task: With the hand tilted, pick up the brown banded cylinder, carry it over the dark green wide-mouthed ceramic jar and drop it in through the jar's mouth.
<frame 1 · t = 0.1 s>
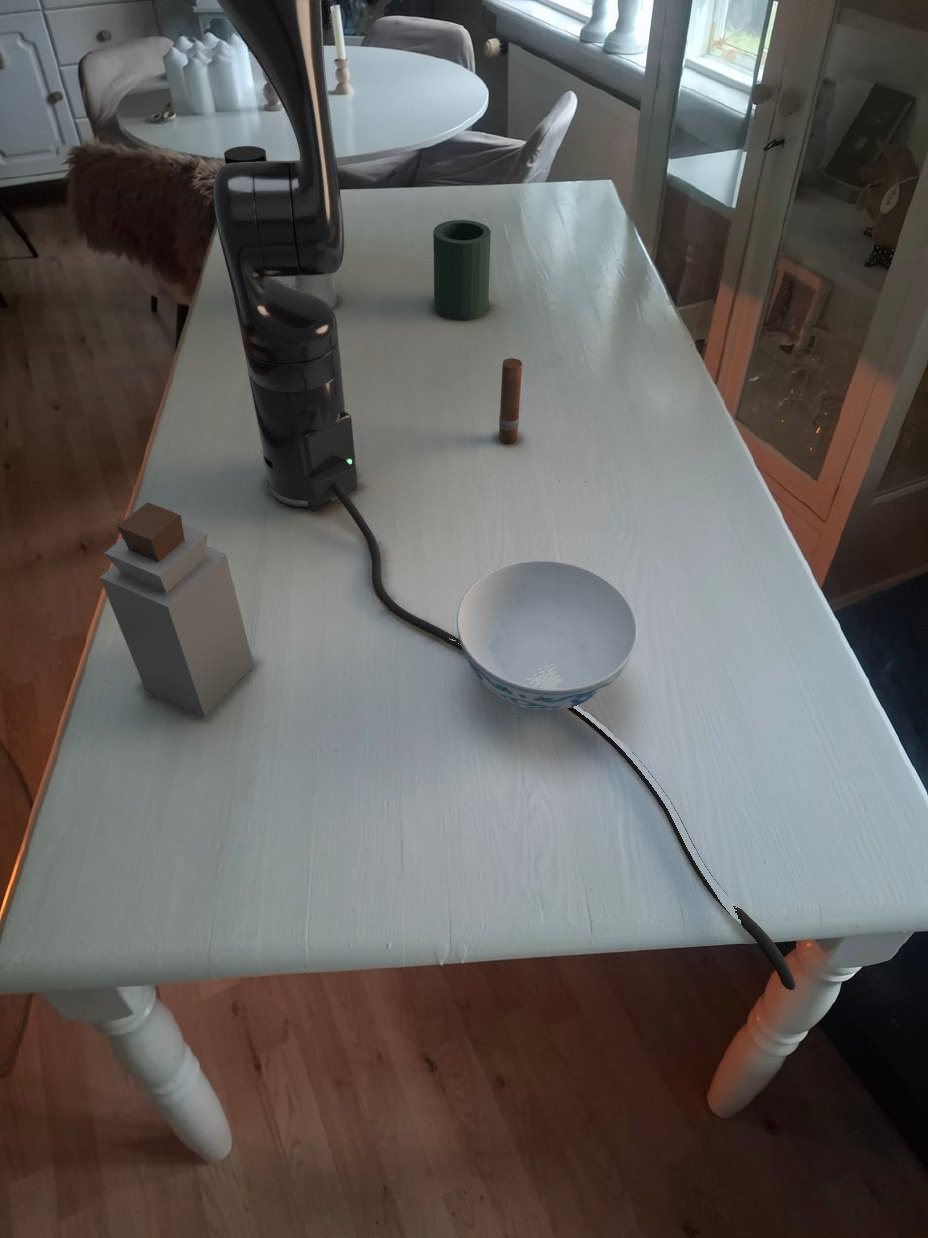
hand: (289, 25, 113), 31 cm above the table, tool tilted 20°, fingers open, 8 cm apart
supplement container: (255, 219, 147), on the table
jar: (461, 307, 126), on the table
beer glass: (316, 303, 127), on the table
brown banded cylinder: (507, 438, 103), on the table
chinaware: (539, 681, 77), on the table
perfume bottle: (200, 678, 77), on the table
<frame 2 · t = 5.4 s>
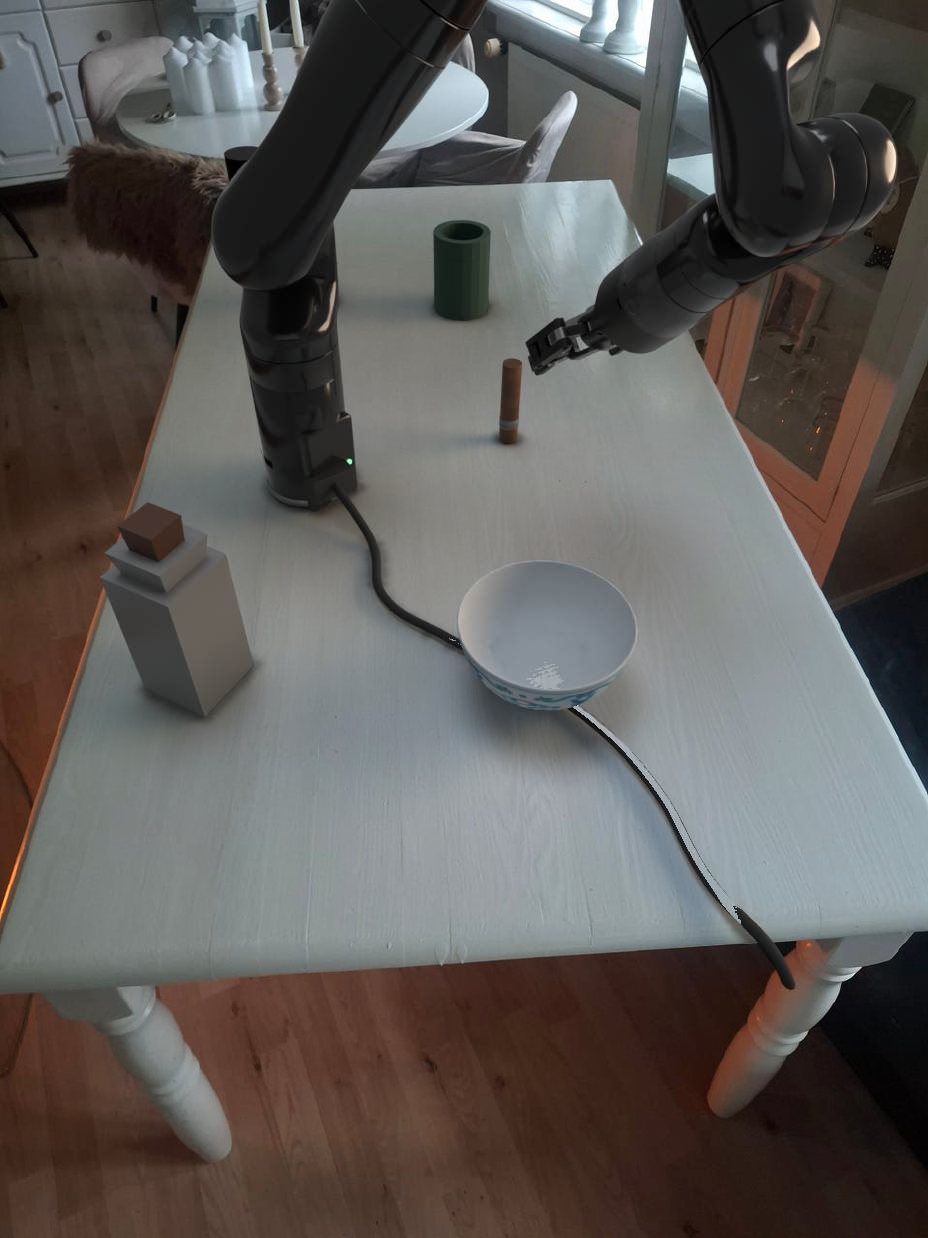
hand: (572, 355, 84), 17 cm above the table, tool tilted 45°, fingers open, 8 cm apart
nothing on the table moved.
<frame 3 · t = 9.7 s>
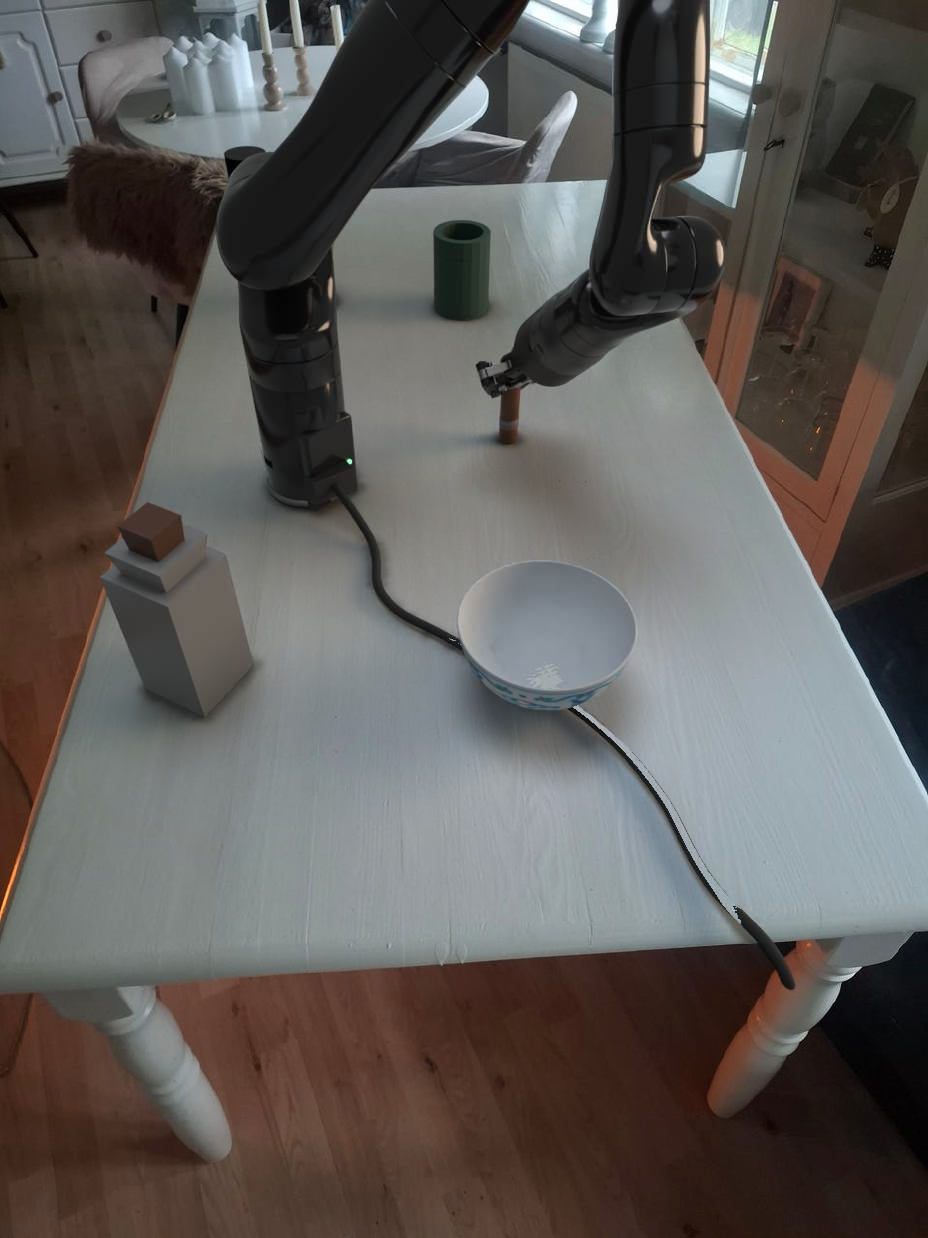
hand: (501, 386, 100), 6 cm above the table, tool tilted 45°, fingers closed on brown banded cylinder, 2 cm apart
brown banded cylinder: (507, 438, 103), on the table, touching gripper
everything else where it was.
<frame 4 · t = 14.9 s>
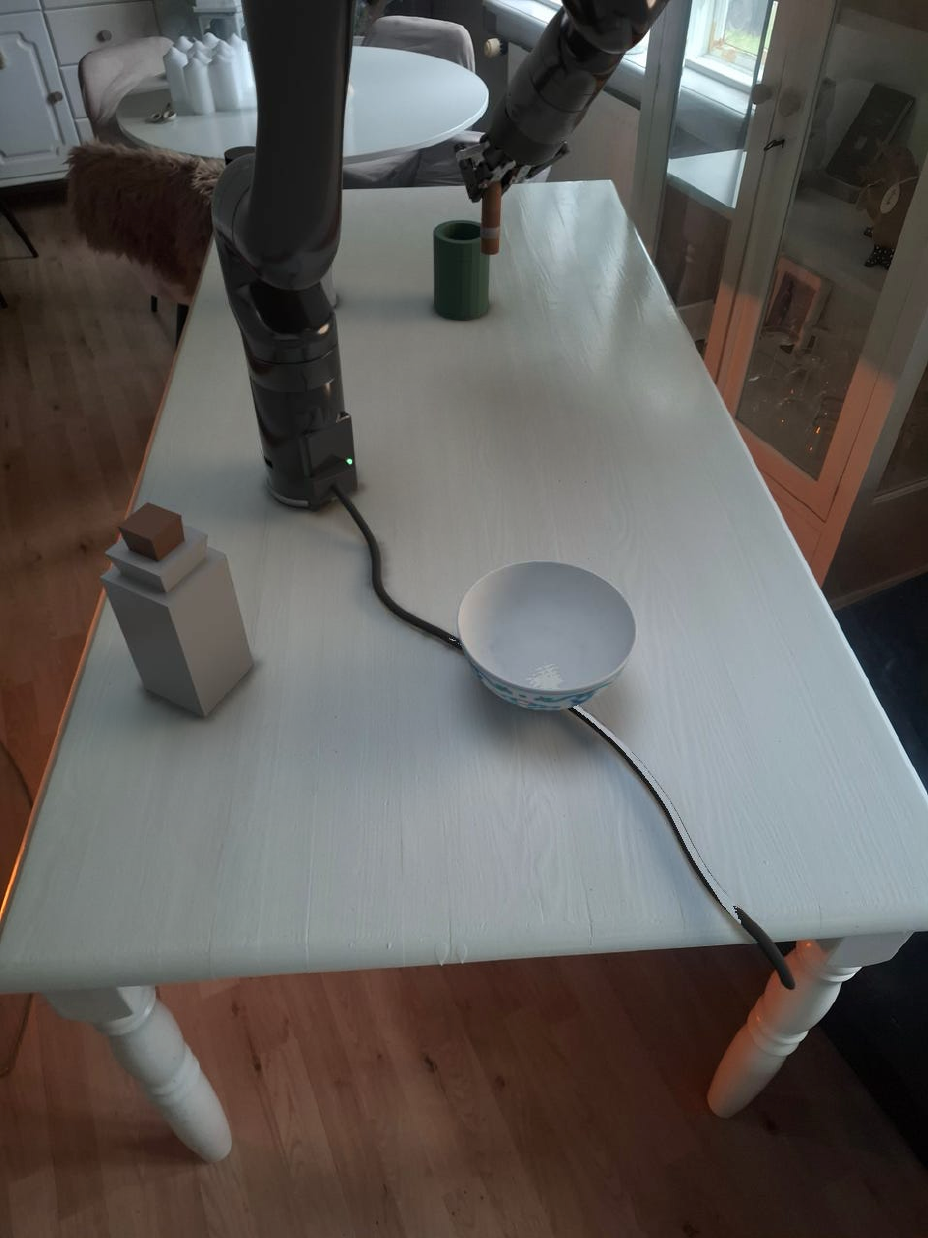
hand: (483, 192, 99), 22 cm above the table, tool tilted 45°, fingers closed on brown banded cylinder
brown banded cylinder: (489, 251, 102), point 16 cm above the table, touching gripper
everything else where it was.
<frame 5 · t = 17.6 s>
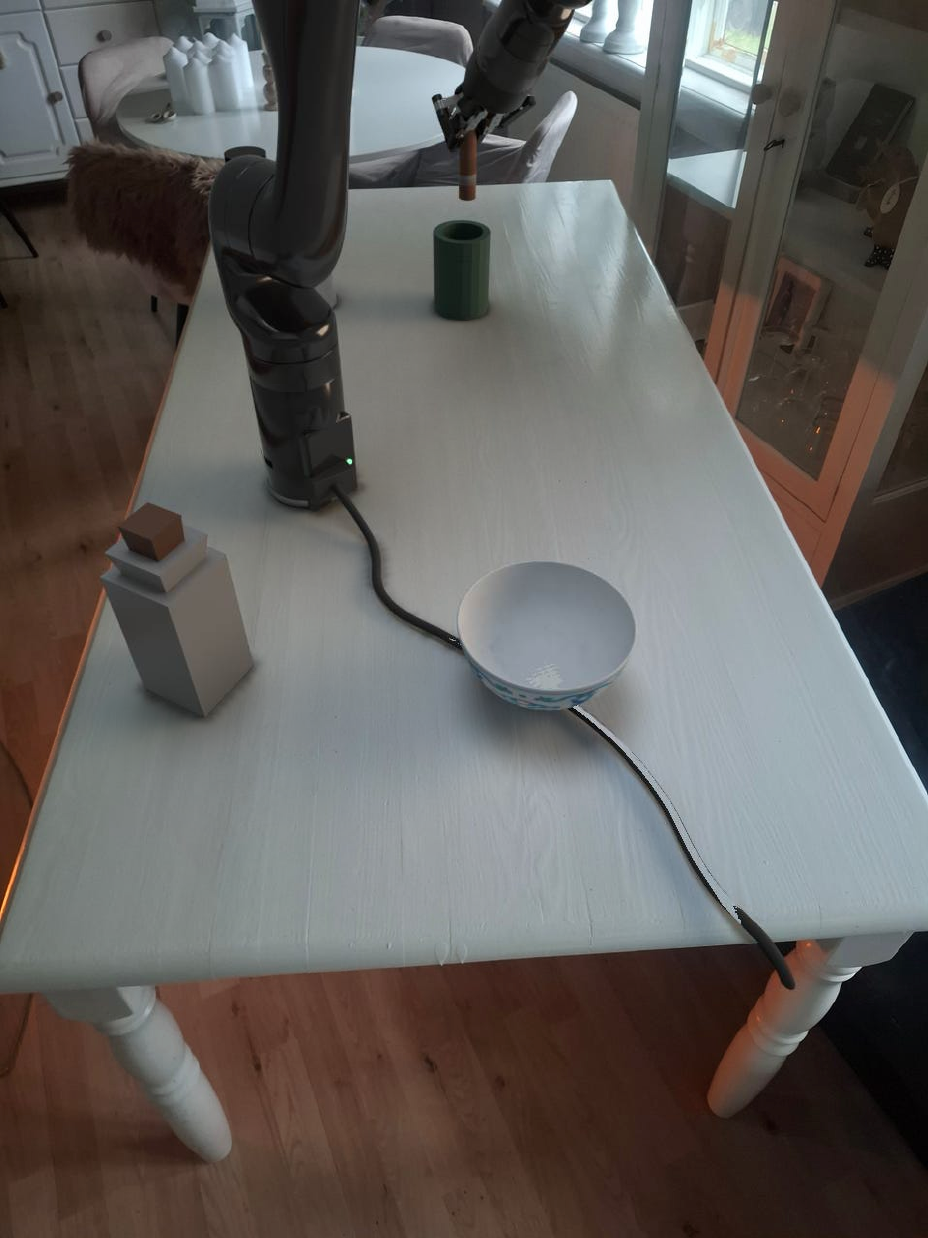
hand: (460, 143, 110), 22 cm above the table, tool tilted 45°, fingers closed on brown banded cylinder
brown banded cylinder: (467, 197, 113), point 16 cm above the table, touching gripper
everything else where it was.
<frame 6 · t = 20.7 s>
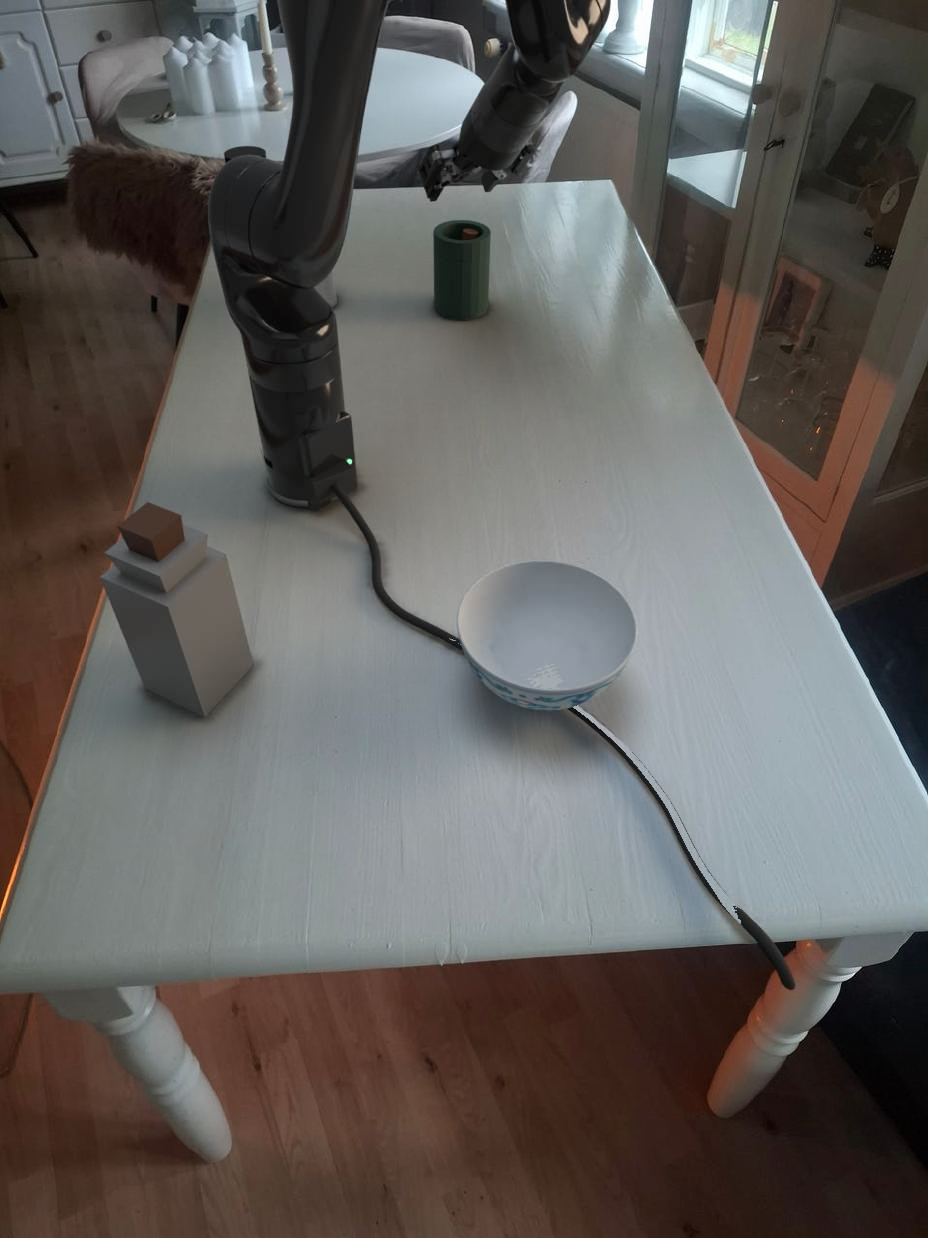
hand: (458, 189, 115), 16 cm above the table, tool tilted 45°, fingers open, 7 cm apart
brown banded cylinder: (461, 302, 125), point 1 cm above the table, tilted 9°, touching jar
everything else where it was.
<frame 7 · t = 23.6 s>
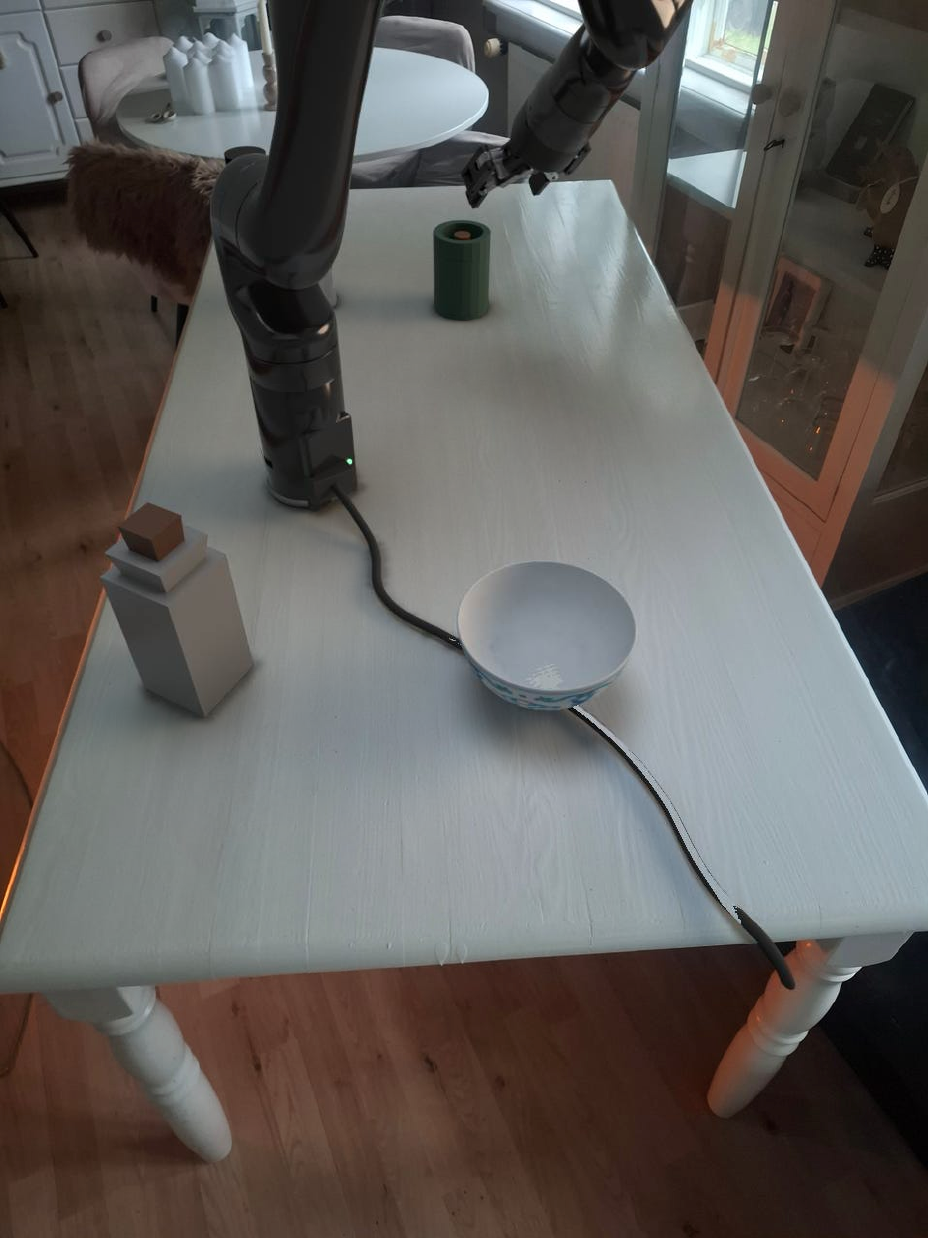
hand: (502, 194, 104), 20 cm above the table, tool tilted 45°, fingers open, 8 cm apart
brown banded cylinder: (461, 303, 125), point 1 cm above the table, touching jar
everything else where it was.
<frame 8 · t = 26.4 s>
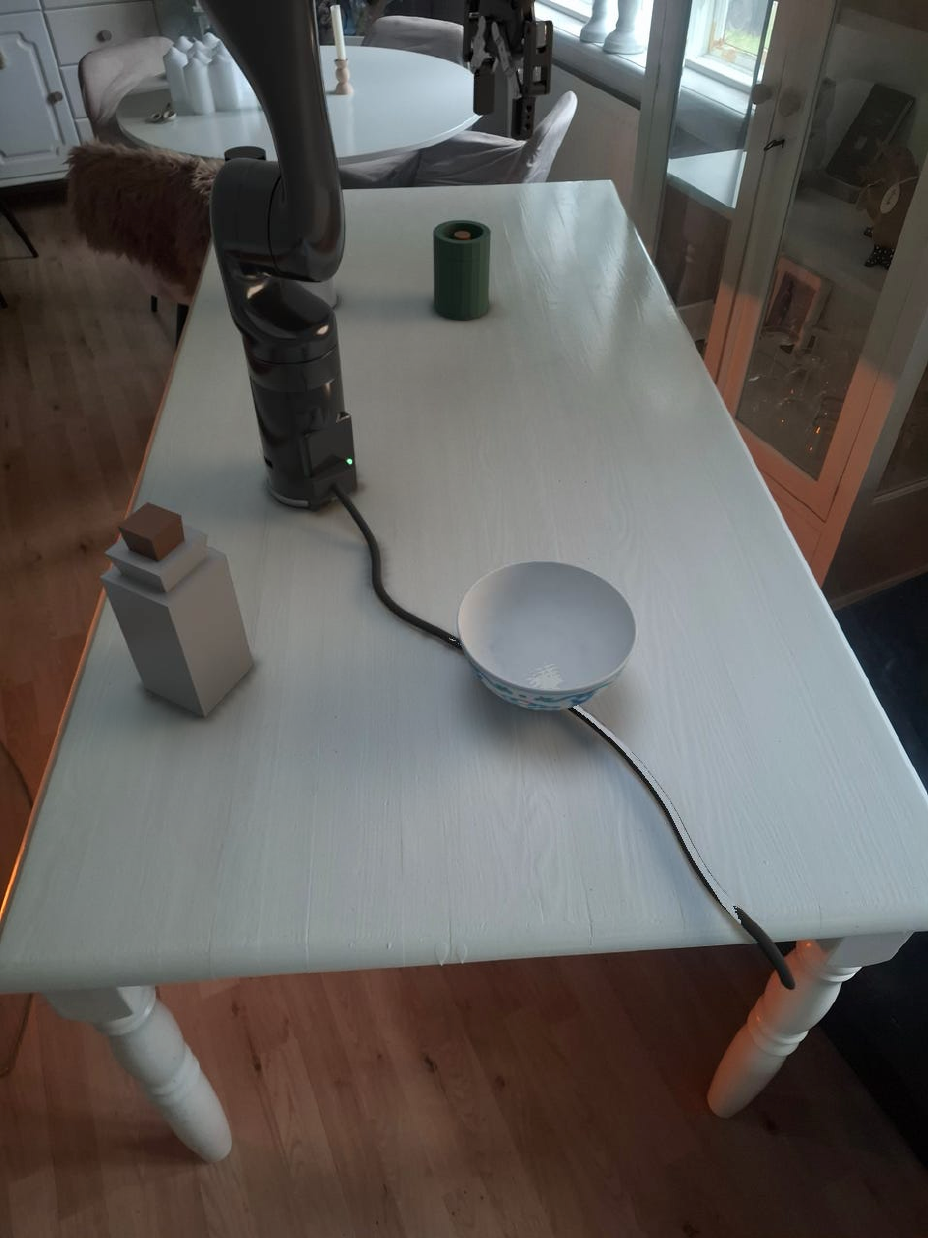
hand: (502, 126, 90), 30 cm above the table, tool pointing down, fingers open, 8 cm apart
nothing on the table moved.
at the end: brown banded cylinder 0.1 cm off-centre in the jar, point 0.6 cm above the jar's base; the gripper is holding nothing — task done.
